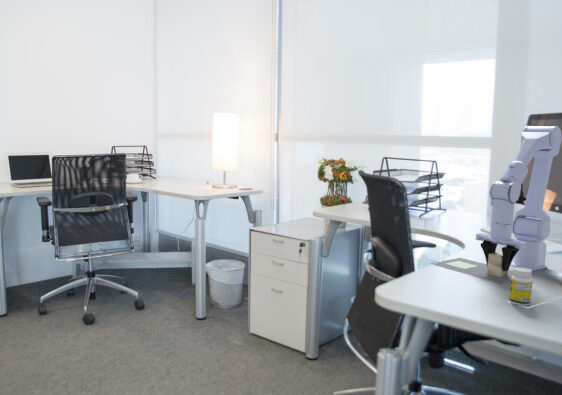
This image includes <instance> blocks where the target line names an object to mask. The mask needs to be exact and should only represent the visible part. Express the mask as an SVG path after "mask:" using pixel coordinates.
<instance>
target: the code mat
mask: <svg viewBox="0 0 562 395" xmlns="http://www.w3.org/2000/svg"><path fill="white" fill-rule="evenodd" d="M440 261H441V262H440ZM440 261H436V262H431V263H429V265H432V266H435V267H436V266H437V267H440V268H444V269H447V270H450V271H454V272H458V273H461V274H466V275H468V276H473V277H476V278H478V279H483V280H486V281H491V282H493V283H496V284H500V285H501V284H505V283H509V282H510V283H511V278H512V276H513V275H514V274H513V271H514V270H510V269H509V270H508V274H507V275H506V276H502V277H498V276H494V275H491V274H487V263H484V262H483V263H482V262H479V261H475V260H472V259H471V260H470V259H468V258H463V257H458V258H450V259H447V260H440ZM435 263H436V264H435ZM433 264H434V265H433Z"/></svg>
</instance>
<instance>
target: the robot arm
mask: <svg viewBox="0 0 562 395" xmlns="http://www.w3.org/2000/svg"><path fill="white" fill-rule="evenodd" d="M520 141H521V146H520V148H519V150H518V153H517V155H516V156H515V158H514V161H510V162H509V163H508V164H507V166H506V167H505V169H504V171H503V172H502V175H501V177H500V178H499V180H497V181H495V182H493V183H492V184H491V186H490V189H489V199H490V206H491V207H492V210H491V220H490V229H489V234H487V233H480V232H478V233H475V240H476V241H481V243H480V247H481V249H482V251H483V253H484V257H485V262H486V263H485V264H487V267H488V256H489V253H495V252H497V251H496V250H497V247H498V245H501V246H503V247H501V253H502V254H503V264H502V271H508V270H510V266H512V267H514V268H516V267H521V268H527V269H530V270H532V272H534V271H537V270H541V269H546V268H548V265H546V256H547V244H546V242H545V240H547V239H548V238H549V236H550V231H551V217H550V215H549V214H548V213H547V212H546V211H545V210H544V209H543V208H544V204H545V203H544V202H545V199H546V194H547V188H548V184H549V180H550V179H549V178H550V173H551V168H552V166H553V165H552V163H553V160H554V157H556V156H557V155H559V152H560V149H561V144H562V130H561V128H560V127H559V126H558V125H554V126H536V125H535V126H532V125H526V126H525V127H524V128H523V129H522V131H521V135H520ZM533 158H534V159H533ZM532 160H534V161H533V164H532V165H533V166H532V170H531V175H530V180H529V185H528V190H527V195H526V200H525V204H524V207H523V208H520V209H519V210H516V211H515V203H516V202H517V201H518V200H519V198H520V194H521V189H522V184H523V182H524V180H525V178H526V176H527V174H528V172H529V169H528V167H527V166H528V165H529V163H530V162H531V161H532ZM514 212H515V215H514ZM512 236H514V238H512ZM512 261H513V262H512Z"/></svg>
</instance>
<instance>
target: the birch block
mask: <svg viewBox="0 0 562 395" xmlns="http://www.w3.org/2000/svg"><path fill="white" fill-rule="evenodd" d="M502 264H503V253H502V252H497V251H495V253H489V256H488V267H487V274H491V275H494V276H498V277H502V276H506V275H507V274H508V271H502Z"/></svg>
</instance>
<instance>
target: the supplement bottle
mask: <svg viewBox="0 0 562 395" xmlns="http://www.w3.org/2000/svg"><path fill="white" fill-rule="evenodd" d="M512 271H513V274H514V275H513V276H512V278H511V281H510V291H509V302H510V303H511V304H513V305H516V306H522V307H524V306H529V305H531V304H532V303H531V302H532V296H533V295H532V294H533V282H534V281H533V280H534V279H533V277H532V276H533V271H532V270H530V269H527V268H521V267H514V268H513V270H512Z"/></svg>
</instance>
